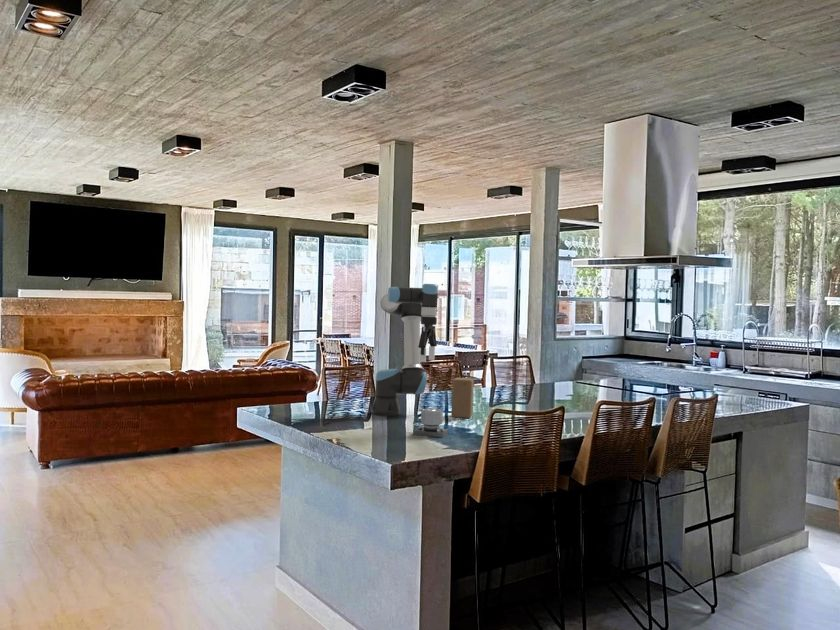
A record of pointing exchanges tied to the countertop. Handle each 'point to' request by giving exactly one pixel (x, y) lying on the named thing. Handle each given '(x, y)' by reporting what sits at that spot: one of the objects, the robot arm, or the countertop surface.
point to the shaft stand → (431, 430)
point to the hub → (431, 416)
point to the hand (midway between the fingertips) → (427, 360)
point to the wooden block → (462, 397)
